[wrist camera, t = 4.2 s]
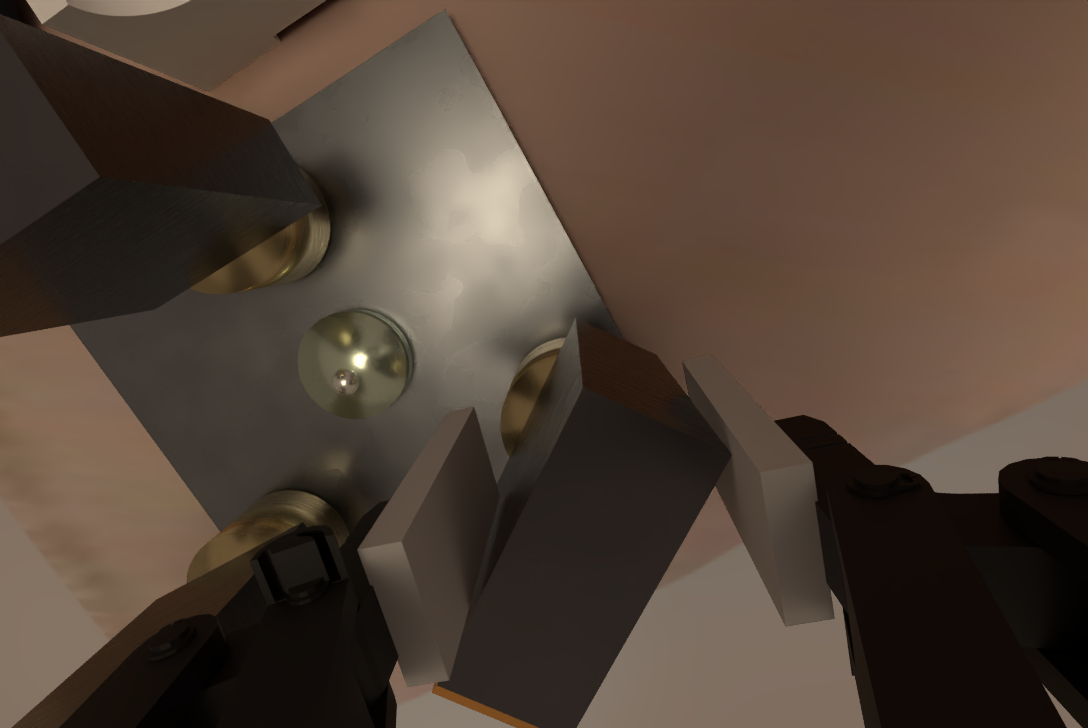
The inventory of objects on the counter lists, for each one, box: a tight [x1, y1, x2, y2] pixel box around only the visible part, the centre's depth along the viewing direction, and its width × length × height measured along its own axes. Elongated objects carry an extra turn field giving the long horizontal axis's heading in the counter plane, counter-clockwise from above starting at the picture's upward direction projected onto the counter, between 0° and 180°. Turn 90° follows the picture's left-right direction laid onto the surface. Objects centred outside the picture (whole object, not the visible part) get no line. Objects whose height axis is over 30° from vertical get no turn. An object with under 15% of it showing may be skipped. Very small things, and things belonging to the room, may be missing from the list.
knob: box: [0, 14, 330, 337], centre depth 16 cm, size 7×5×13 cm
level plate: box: [70, 9, 623, 535], centre depth 23 cm, size 20×19×2 cm
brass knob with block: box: [12, 490, 349, 728], centre depth 19 cm, size 7×5×13 cm
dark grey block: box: [432, 318, 732, 728], centre depth 17 cm, size 7×5×13 cm
